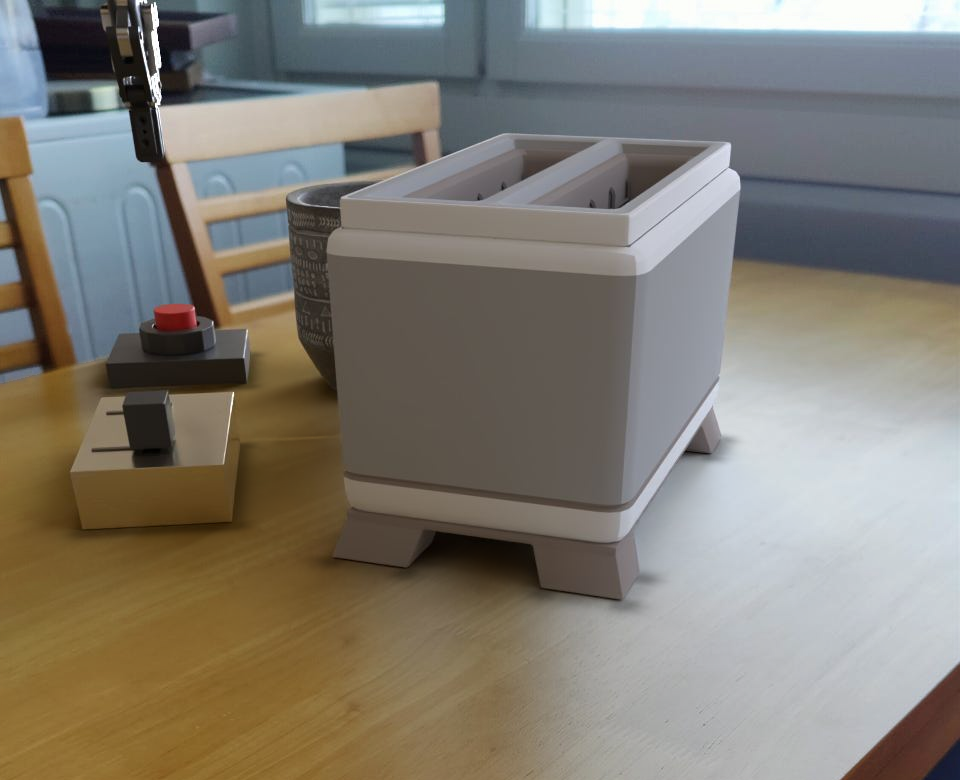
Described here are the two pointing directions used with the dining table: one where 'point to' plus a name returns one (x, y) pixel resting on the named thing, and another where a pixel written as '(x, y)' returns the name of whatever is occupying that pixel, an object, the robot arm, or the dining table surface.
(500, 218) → the toaster
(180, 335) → the button housing
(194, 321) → the button
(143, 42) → the robot arm
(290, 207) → the planter
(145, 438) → the slider
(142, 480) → the panel
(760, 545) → the dining table surface
